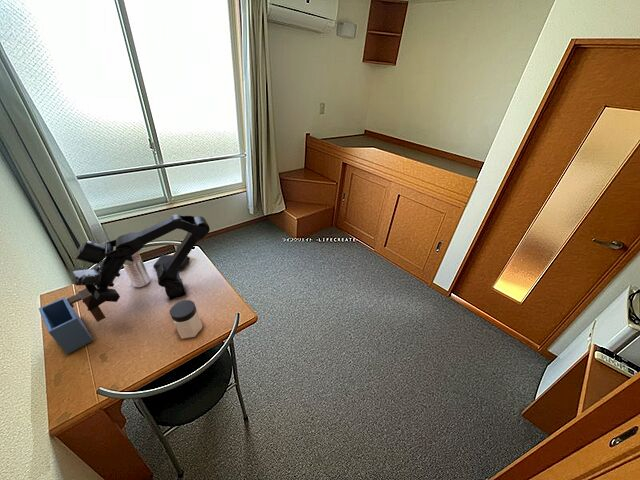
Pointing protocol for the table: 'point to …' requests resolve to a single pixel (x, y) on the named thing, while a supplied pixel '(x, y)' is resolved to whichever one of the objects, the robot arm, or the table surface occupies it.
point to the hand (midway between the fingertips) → (86, 306)
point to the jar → (186, 318)
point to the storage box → (65, 325)
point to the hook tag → (86, 303)
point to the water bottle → (137, 271)
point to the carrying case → (166, 258)
